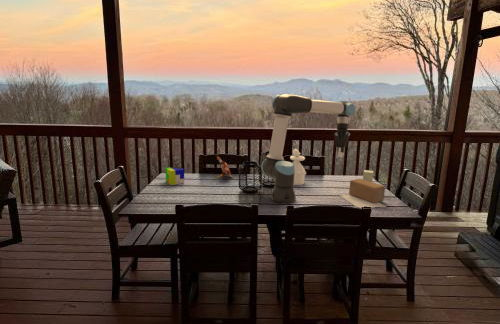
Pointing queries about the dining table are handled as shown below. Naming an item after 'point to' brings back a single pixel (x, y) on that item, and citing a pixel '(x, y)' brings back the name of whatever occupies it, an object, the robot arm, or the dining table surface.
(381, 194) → the wooden block
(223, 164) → the decorative bird
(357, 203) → the mat
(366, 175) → the sage block
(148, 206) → the dining table surface
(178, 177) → the puzzle toy
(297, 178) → the decorative object
